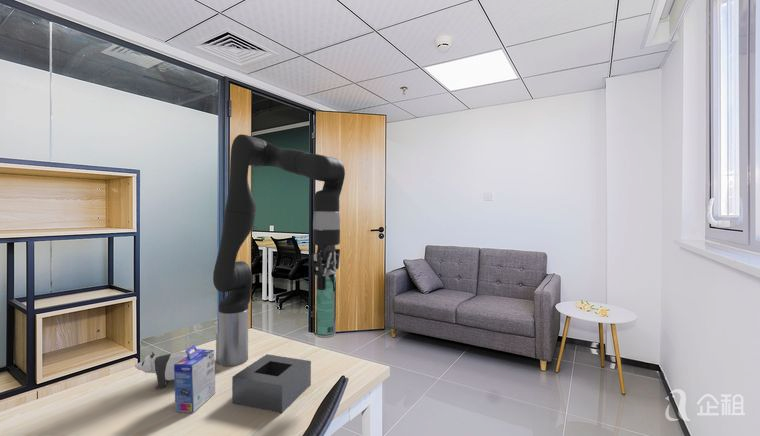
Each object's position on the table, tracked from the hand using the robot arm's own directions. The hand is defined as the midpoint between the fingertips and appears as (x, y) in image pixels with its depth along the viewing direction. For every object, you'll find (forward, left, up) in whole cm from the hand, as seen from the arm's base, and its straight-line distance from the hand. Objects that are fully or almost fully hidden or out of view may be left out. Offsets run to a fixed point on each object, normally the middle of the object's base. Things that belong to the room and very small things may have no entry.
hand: (326, 287), depth 97 cm
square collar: (-13, -6, -29) cm, 33 cm away
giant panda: (-45, -11, -30) cm, 55 cm away
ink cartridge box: (-30, -16, -30) cm, 45 cm away
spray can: (0, 0, -14) cm, 14 cm away
